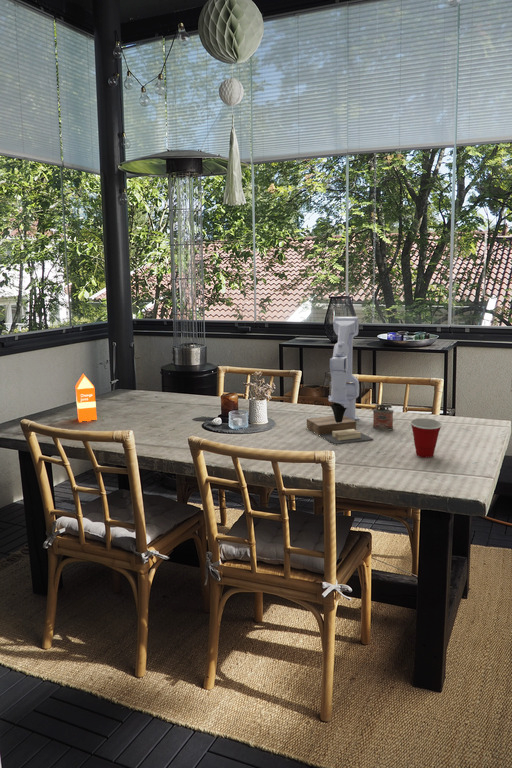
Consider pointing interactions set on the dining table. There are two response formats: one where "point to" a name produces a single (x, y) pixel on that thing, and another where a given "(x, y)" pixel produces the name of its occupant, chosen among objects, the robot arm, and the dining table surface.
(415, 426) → the plastic cup
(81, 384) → the orange juice
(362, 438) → the rubber mat
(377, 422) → the lighter
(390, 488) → the dining table surface
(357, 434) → the birch tile
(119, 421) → the dining table surface
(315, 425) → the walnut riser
